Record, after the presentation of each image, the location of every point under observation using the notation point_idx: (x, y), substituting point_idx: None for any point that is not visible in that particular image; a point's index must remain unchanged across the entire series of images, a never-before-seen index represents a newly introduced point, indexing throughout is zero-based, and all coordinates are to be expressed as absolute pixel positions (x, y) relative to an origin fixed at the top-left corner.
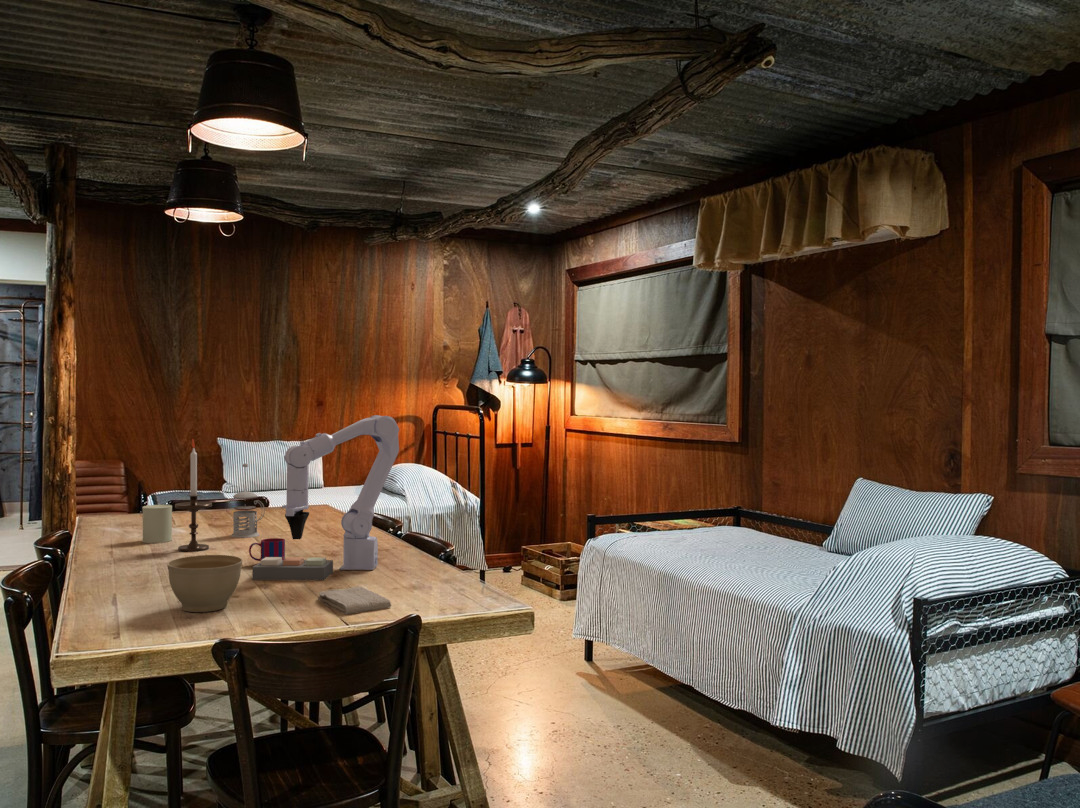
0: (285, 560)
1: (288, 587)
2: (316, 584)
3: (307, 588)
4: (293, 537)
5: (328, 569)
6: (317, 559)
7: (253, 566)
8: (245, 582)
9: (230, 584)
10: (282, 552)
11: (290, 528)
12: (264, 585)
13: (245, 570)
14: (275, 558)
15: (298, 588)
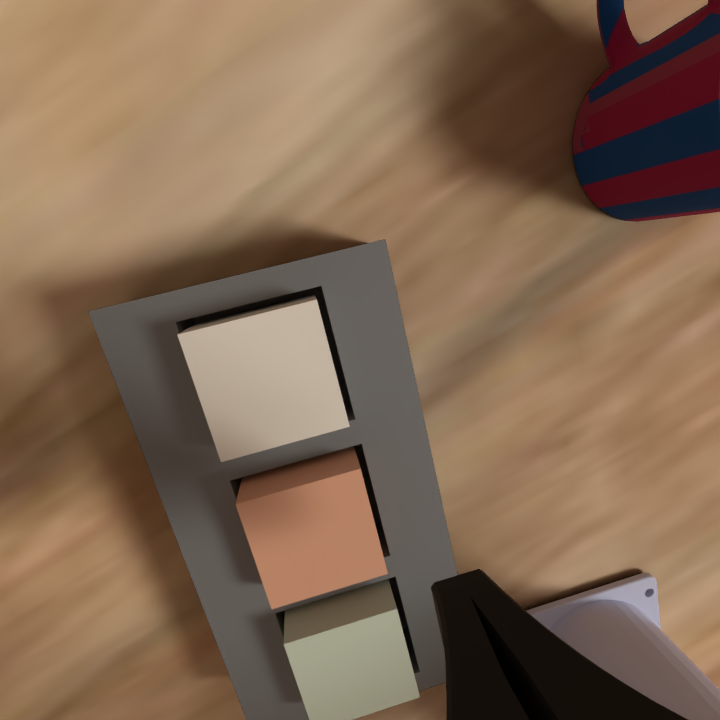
0: (241, 519)
1: (33, 609)
2: (162, 690)
3: (56, 703)
4: (435, 607)
5: None
6: (341, 690)
7: (113, 306)
8: (44, 299)
9: None
10: (690, 212)
11: (446, 689)
12: (19, 461)
13: (392, 74)
14: (286, 408)
15: (35, 666)
